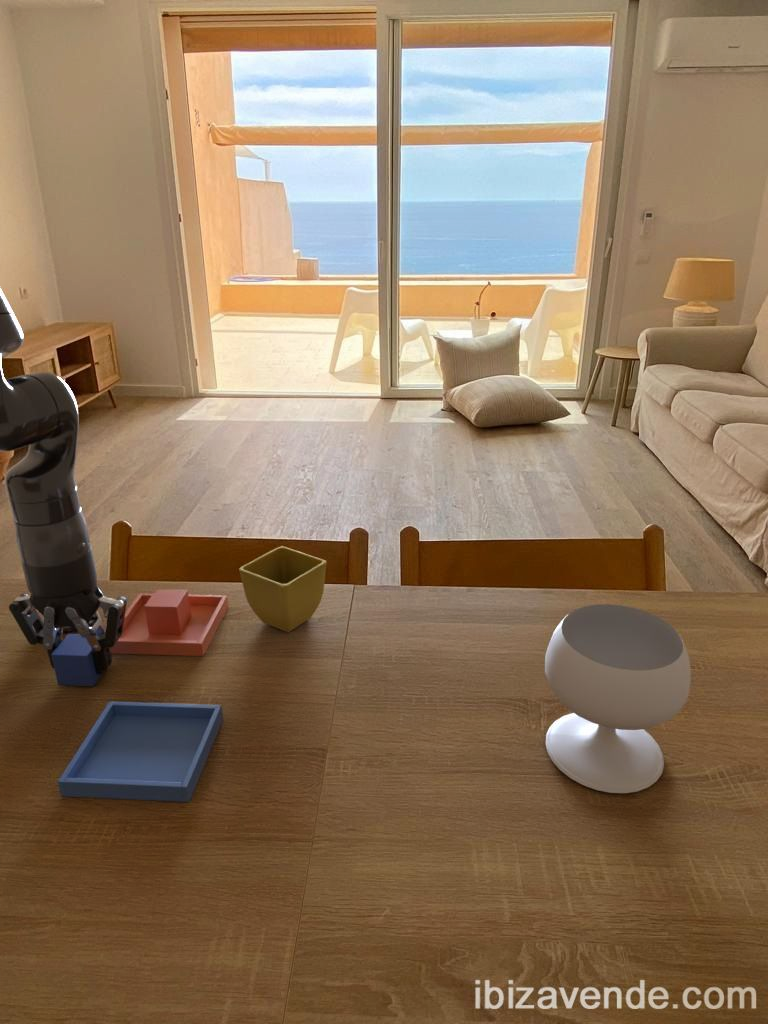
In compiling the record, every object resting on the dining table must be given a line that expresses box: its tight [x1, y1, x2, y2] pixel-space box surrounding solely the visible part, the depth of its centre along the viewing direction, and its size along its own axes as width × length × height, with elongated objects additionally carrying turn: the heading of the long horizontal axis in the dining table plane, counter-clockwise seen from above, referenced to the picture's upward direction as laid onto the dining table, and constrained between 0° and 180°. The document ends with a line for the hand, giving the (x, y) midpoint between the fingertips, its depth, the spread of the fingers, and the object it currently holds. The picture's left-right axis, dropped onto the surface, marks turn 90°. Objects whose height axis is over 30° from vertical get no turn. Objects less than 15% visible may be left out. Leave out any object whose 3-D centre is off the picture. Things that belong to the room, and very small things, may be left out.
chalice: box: [544, 603, 692, 794], centre depth 71 cm, size 14×14×15 cm
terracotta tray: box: [109, 592, 229, 657], centre depth 97 cm, size 13×12×2 cm
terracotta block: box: [144, 589, 191, 635], centre depth 96 cm, size 4×4×4 cm
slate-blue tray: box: [57, 700, 224, 803], centre depth 75 cm, size 13×12×2 cm
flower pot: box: [238, 545, 327, 633], centre depth 97 cm, size 9×9×9 cm
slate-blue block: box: [51, 633, 102, 687], centre depth 86 cm, size 4×4×4 cm
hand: (82, 669), depth 87 cm, fingers closed on slate-blue block, 4 cm apart
